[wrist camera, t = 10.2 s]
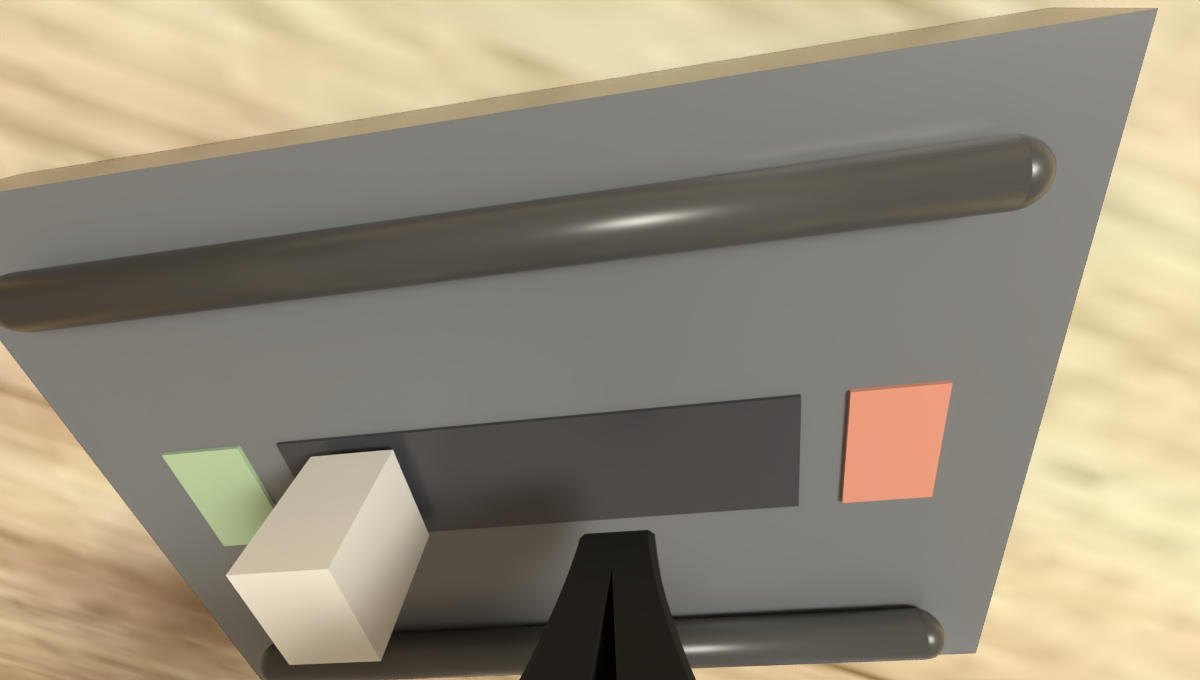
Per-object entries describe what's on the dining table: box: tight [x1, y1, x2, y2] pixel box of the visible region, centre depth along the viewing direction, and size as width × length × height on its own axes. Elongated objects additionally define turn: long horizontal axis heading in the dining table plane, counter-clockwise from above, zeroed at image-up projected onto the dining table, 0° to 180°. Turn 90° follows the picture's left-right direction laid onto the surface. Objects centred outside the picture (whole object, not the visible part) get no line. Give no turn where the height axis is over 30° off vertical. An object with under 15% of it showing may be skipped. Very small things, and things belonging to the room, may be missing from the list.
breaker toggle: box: [226, 450, 429, 665], centre depth 12 cm, size 3×2×3 cm
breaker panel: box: [0, 8, 1158, 680], centre depth 14 cm, size 16×22×4 cm
